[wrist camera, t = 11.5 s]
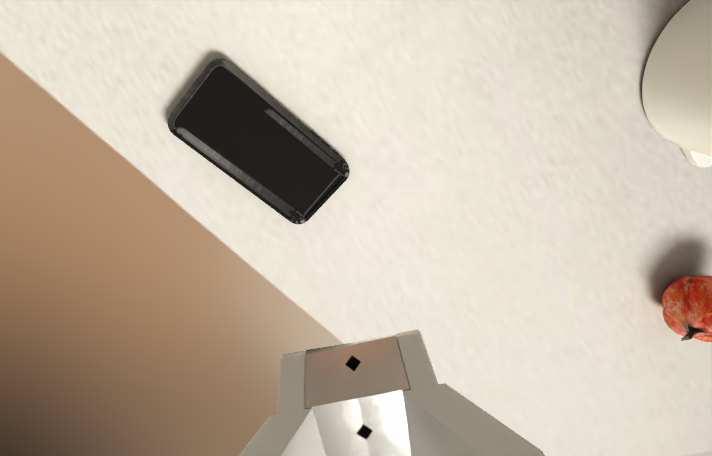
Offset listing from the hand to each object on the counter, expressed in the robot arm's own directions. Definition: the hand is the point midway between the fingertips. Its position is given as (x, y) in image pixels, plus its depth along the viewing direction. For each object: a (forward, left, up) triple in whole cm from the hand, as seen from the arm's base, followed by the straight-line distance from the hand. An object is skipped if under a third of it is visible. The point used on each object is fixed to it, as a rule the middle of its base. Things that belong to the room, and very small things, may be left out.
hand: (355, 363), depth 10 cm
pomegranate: (-37, +29, -33) cm, 58 cm away
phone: (+6, +4, -34) cm, 34 cm away
